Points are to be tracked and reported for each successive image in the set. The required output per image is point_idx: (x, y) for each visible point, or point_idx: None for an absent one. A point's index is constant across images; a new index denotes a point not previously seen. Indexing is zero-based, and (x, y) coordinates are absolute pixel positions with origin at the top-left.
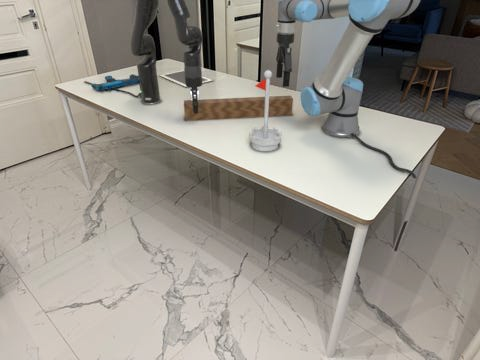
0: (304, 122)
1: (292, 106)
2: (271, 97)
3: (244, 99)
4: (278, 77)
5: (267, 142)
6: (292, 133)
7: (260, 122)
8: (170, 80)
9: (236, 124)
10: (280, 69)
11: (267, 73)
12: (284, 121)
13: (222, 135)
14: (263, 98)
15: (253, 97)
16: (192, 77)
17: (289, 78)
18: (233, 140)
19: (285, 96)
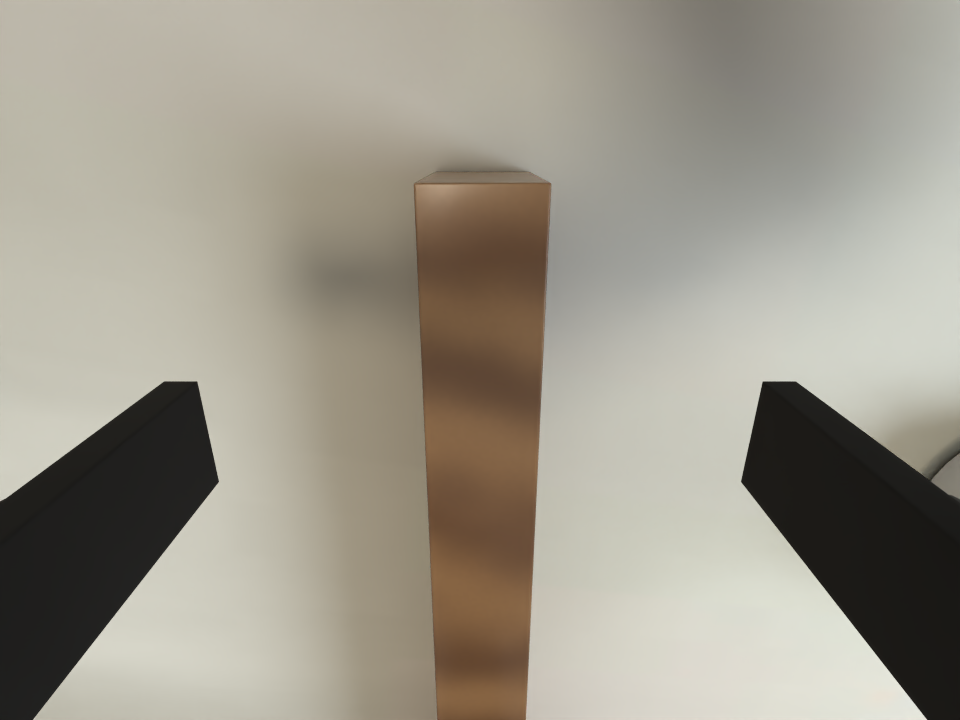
0: (736, 85)
1: (539, 177)
2: (465, 441)
3: (488, 673)
4: (207, 451)
5: None
6: (919, 273)
7: (629, 468)
8: None
9: (623, 612)
10: (91, 533)
11: None
12: (659, 280)
13: (762, 688)
14: (485, 523)
15: (443, 603)
16: None
17: (919, 477)
18: (851, 647)
19: (450, 269)
